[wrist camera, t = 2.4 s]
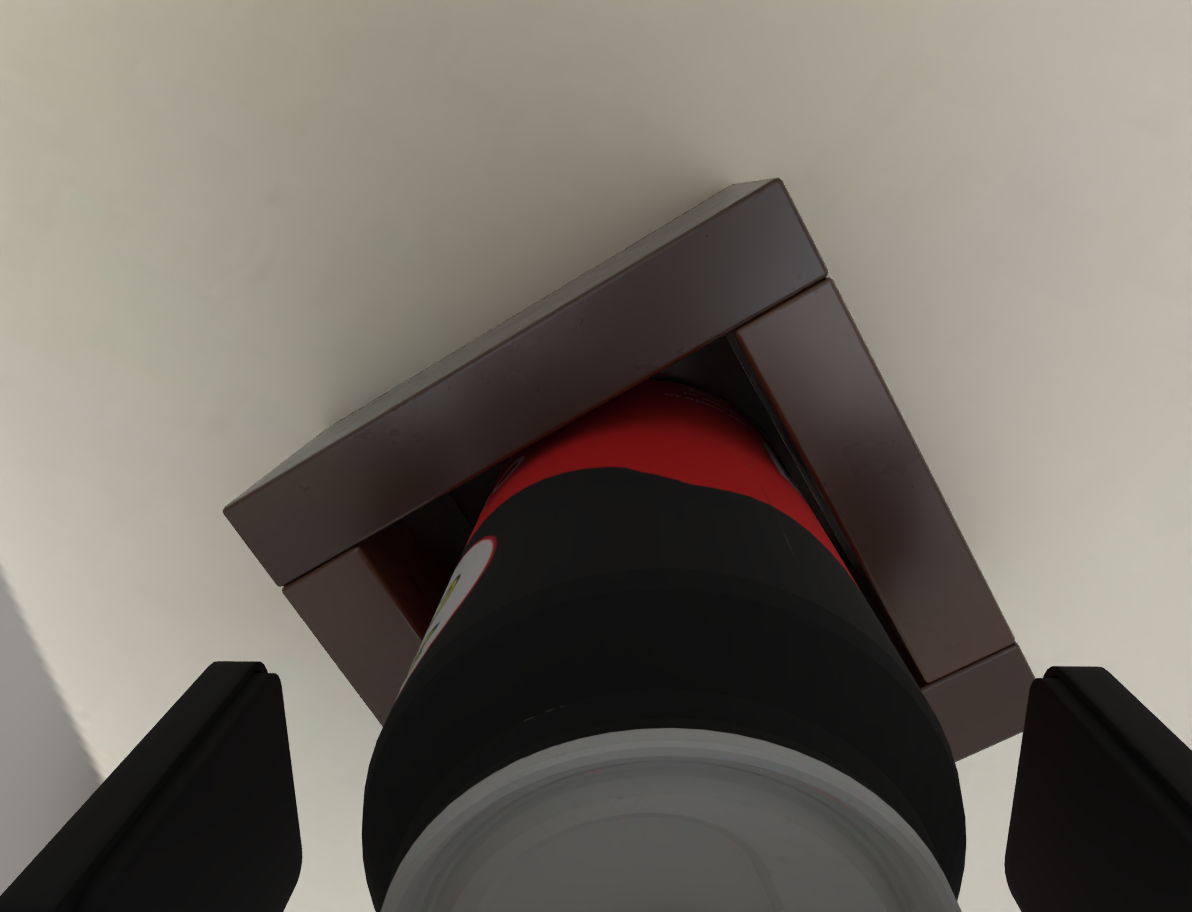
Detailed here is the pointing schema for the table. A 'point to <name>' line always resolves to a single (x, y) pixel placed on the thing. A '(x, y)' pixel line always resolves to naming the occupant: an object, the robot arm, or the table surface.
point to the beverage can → (658, 697)
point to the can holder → (597, 375)
